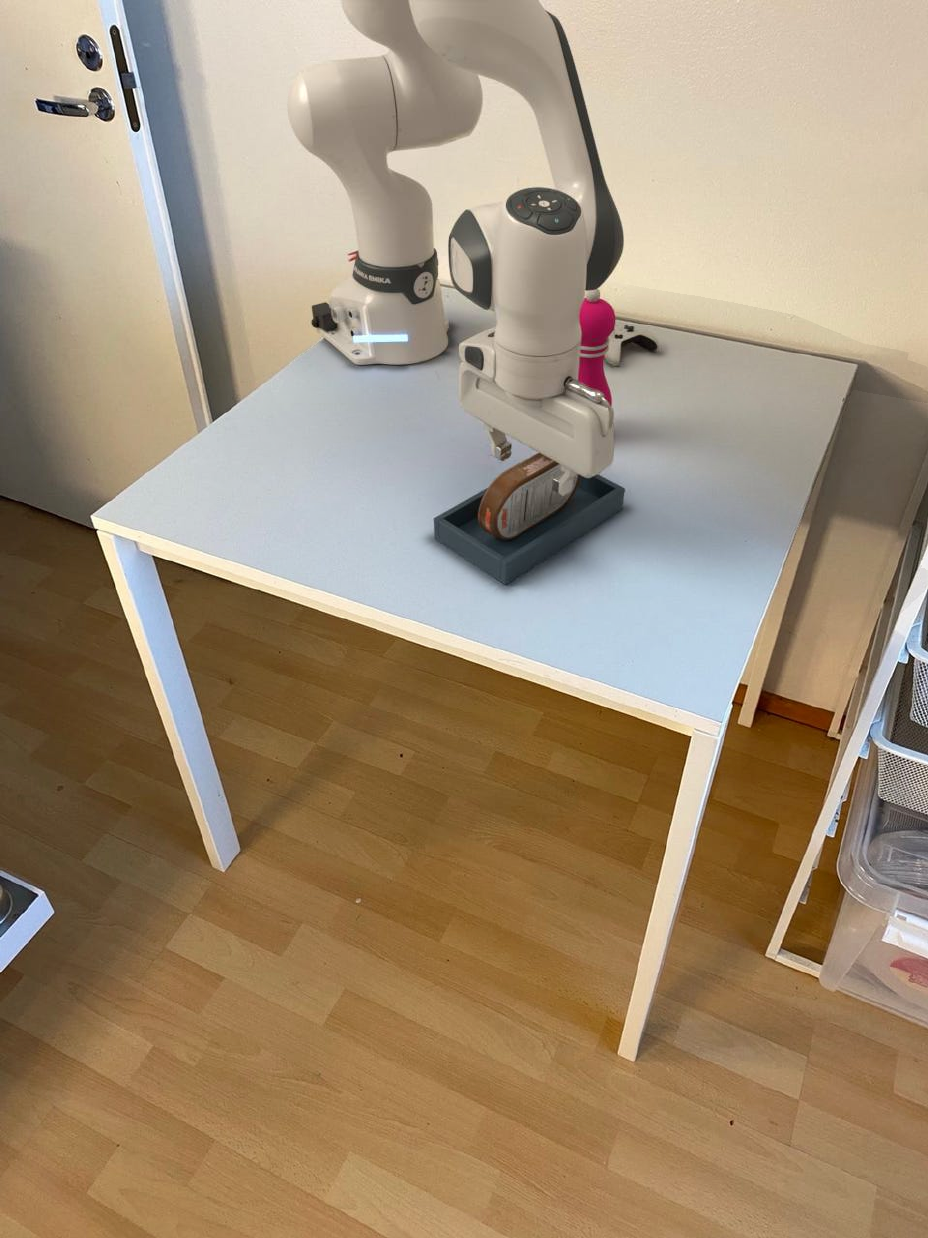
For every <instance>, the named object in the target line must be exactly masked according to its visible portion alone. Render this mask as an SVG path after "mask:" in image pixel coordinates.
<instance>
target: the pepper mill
mask: <svg viewBox="0 0 928 1238" xmlns="http://www.w3.org/2000/svg"><path fill="white" fill-rule="evenodd" d="M615 313H616V312H615V310H614V308H613V306H612V305H611V304H610V303H609V302H608V301H606V299H603V298H601V291H600V289H599V288H598V289H595V290H588V291H585V298H584V301H583V304H582V306H581V309H580V313H579V322H580V326H581V332H582V336H581V349H580V361H579V372H578V380H577V381H579V382H581V383H583V384H585V385H586V386H588V387H590V388H592V389H596V390H598V391H600V392H602V393H603V394H604V396H605V399H606V400H607V401H608V402H609V404H610V406H611V407H612V408H613V399H612V392H611V389H610V386H609V384H608V383H609V382H608V381H607V378H606V375H605V369H604V362H605V361H604V360H605V358H604V355H605V354H606V353H607V352H608V350H609V346H608V344H609V342H610V340H609V338H608V336H609V335H610V334H611V333H612V332H613V330H614V328H616V319H617V318H616V314H615Z"/></svg>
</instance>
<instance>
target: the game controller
mask: <svg viewBox="0 0 928 1238" xmlns="http://www.w3.org/2000/svg"><path fill="white" fill-rule="evenodd" d="M608 338H609V340H610V342H609V344H608V346H609V350H608V352H607V353H606V354H605V355H604V360H605V361H606V362H607V363H608V364H610V365H611V366H613V367H618V366H620V365H621V361H622V360H621V359H622V347H624V346H626V345H629V344H635V345H637V346H638V347H640V348H642V349H644V350H645V351H649V352H655V351H657V349H658V348H659V340H658V338H657V337H656V336H655V335H654V334H652V333H651V332H649V331H648V330H645V329H642V328H639V327H636V326H634V325H628V324H621V325H619V326H617V327H616V326H615V328H614V330H613V332H612V333H611V334H610V335H609V336H608Z"/></svg>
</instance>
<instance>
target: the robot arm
mask: <svg viewBox="0 0 928 1238" xmlns="http://www.w3.org/2000/svg"><path fill="white" fill-rule="evenodd" d="M340 3H341V7H342V10H343V12H344V15H345V17H346V19H347V20H348V21H349V23H350V24H351V25H352V27H354V28H355V29H356V31H357V32H359V33H360V34H361V35H363V36H364V37H366V38H367V39H369V40H371V41H373V42H375V43H377V44H380V45H382V46H383V47H385V48H387V49H389V50H388V52H387V53H386V54H381V55H379V56H367V57H357V58H345V59H333V60H329V61H326V62H323V63H319V64H316V65H313V66H311V67H310V66H309V67H307V68H304V69H302V70H300V71H298V72H297V73H296V75H295V76H294V78H293V80H292V83H291V85H290V87H289V91H288V96H287V115H288V120H289V124H290V127H291V129H292V132H293V134H294V135H295V137H296V138H297V140H298V142H299V143H300V144H301V145H302V147H304V149H305V150H306V151H308V152H309V153H310V154H312V155H313V156H315V157H316V158H318V159H319V160H320V161H322V162H324V163H325V165H327V166H328V167H329V169H331V170H332V171H333V173H334V174H335V175H336V176H337V178H338V179H339V180H340V182H341V183H342V186H343V188H344V189H345V191H346V193H347V196H348V198H349V201H350V205H351V209H352V214H353V215H352V216H353V220H354V226H355V227H354V228H355V234H356V242H357V250H355V251H353V252H349V253H347V256H351V257H349V258H348V259H347V260H348V262H352V261H354V264H353V270H352V274H351V275H350V276H349V277H347V278H346V279H345V280H344V281H342V282H341V283H340V284H339V285H337V286H336V287H335V288H333V290H332V291H331V292H330V295H329V299H328V302H326V301H324V302H321V303H317V304H313V305H311V312H312V319H311V322H310V323H311V325H312V326H311V327H313V328H315V330H316V332H317V333H318V334H319V335H320V336H321V337H323V338H324V339H325V340H326V341H328V343H329V344H331V345H332V346H333V347H334V348H335V349H337V350H338V351H339V352H340V353H342V354H343V355H344V356H345V357H346V358H347V359H348V360H350V361H351V362H352V363H353V364H355V365H358V366H365V365H376V364H381V365H411V364H412V365H413V364H417V363H423V362H425V361H428V360H430V359H431V360H432V359H433V358H436V357H437V356H439V355H441V354H442V353H443V352H444V351H445V350H446V349H447V347H448V346H449V337H448V334H447V333H448V332H449V329H450V322H449V320H448V318H445V317H446V316H445V309H444V302H443V295H442V285H441V282H440V279H439V278H438V277H439V258H438V251H437V250H436V248H435V237H434V234H435V233H434V211H433V200H432V198H431V195H430V193H429V191H428V190H427V189H426V188H425V186H423V184H422V183H420V182H418V181H417V180H415V179H413V178H411V177H409V176H407V175H405V174H402V173H399V172H397V171H395V170H393V169H391V168H389V165H388V155H389V154H390V153H393V152H401V151H407V150H419V149H426V148H427V149H428V148H437V147H440V146H443V145H447V144H450V143H453V142H456V141H459V140H461V139H464V138H467V137H470V136H471V135H472V133H473V132H474V130H475V129H476V127H477V125H478V122H479V121H480V118H481V114H482V111H483V101H484V97H483V96H484V95H483V88H482V83H481V79H480V77H479V76H481V77H484V78H487V79H491V80H493V81H496V82H498V83H501V84H503V85H504V86H506V87H508V88H510V89H512V90H514V91H515V92H517V93H518V94H519V95H520V96H521V97H522V98H523V99H524V100H525V101H526V102H527V103H528V105H529V106H530V107H531V110H532V112H533V114H534V117H535V119H536V122H537V123H536V124H537V126H538V130H539V134H540V137H541V140H542V144H543V148H544V152H545V155H546V159H547V163H548V166H549V170H550V174H551V176H552V177H551V178H552V181H553V184H554V188H551V187H541V186H533V187H526V188H523V189H519V190H517V191H515V192H513V193H511V194H510V195H508V196H507V197H506V198H505V199H504V201H498V202H497V201H496V202H490V203H486V204H480V205H476V206H474V207H473V206H472V207H471V208H468V209H465V210H464V211H463V212H462V213H461V214H460V215H459V216H458V217H457V219H456V221H455V222H454V224H453V226H452V228H451V230H450V233H449V236H448V242H447V243H448V244H447V248H448V249H447V251H448V253H447V254H448V268H449V274H450V275H449V276H450V280H451V283H452V285H453V288H455V290H457V292H458V293H460V294H461V295H462V296H464V297H465V298H466V299H468V300H469V301H470V302H472V303H473V304H475V305H476V306H478V307H479V308H481V309H482V310H485V311H488V310H490V311H491V312H493V313H494V315H495V318H496V325H495V326H493V327H490V328H489V329H485V330H483V331H481V332H479V333H476V334H475V335H472V336H470V337H468V338H467V339H464V340H463V341H462V342H460V343H459V344H458V345H459V346H458V355H459V358H460V360H461V363H460V364H459V368H458V379H457V380H458V383H457V384H458V400H459V403H460V406H461V408H462V409H463V411H464V412H465V413H466V414H468V415H469V416H471V417H473V418H475V419H477V420H479V421H481V422H482V423H484V431H485V433H486V435H487V437H488V440H489V442H490V444H491V456H492V457H493V458H495V459H497V460H499V461H501V462H504V461H506V460H507V459H509V458H510V457H511V456H512V448H513V447H512V446H513V445H512V443H511V442H510V441H508V440H507V436H508V437H510V438H512V439H514V440H516V441H517V442H519V443H521V444H522V445H525V446H527V447H528V448H530V449H532V450H533V451H535V452H537V453H541V454H543V455H545V456H547V457H548V458H550V459H552V460H554V461H556V462H557V463H559V464H561V471H563V473H561V474H559V476H556V477H555V478H553V482H552V484H553V486H552V490H553V491H555V492H557V493H558V494H560V495H562V496H564V495H566V494H567V493H569V492H570V491H571V490H572V485H573V478H574V477H575V476H576V475H577V474H579V475H581V476H583V477H585V478H591V477H593V476H595V475H597V474H598V475H600V474H601V473H602V472H604V471H605V470H606V469H608V468H609V467H610V466H611V465H612V464H613V461H614V456H615V425H614V424H615V423H614V419H615V417H614V416H615V411H614V408H613V406H612V407H611V406H610V404H609V402H608V401H607V400H606V399H605V396H604V394H603V393H602V392H600V391H598V390H596V389H592V388H590V387H588V386H586V385H585V384H583V383H581V382H579V381H577V380H578V372H579V361H580V349H581V336H582V332H581V326H580V322H579V313H580V309H581V306H582V304H583V301H584V298H586V291H588V290H595V289H599V288H601V287H602V285H604V283H606V281H607V280H608V279H609V278H610V276H611V275H612V274H613V272H614V270H615V269H616V267H617V265H618V263H619V261H620V260H621V257H622V255H623V253H624V252H623V251H624V245H625V236H624V235H625V234H624V228H623V224H622V221H621V216H620V214H619V210H618V208H617V206H616V203H615V201H614V199H613V196H612V194H611V192H610V188H609V187H608V184H607V181H606V177H605V175H604V170H603V167H602V163H601V160H600V155H599V152H598V151H599V150H598V148H597V144H596V139H595V136H594V132H593V127H592V124H591V120H590V116H589V111H588V108H587V105H586V100H585V96H584V92H583V89H582V86H581V85H582V84H581V81H580V77H579V74H578V73H579V72H578V70H577V67H576V63H575V59H574V56H573V52H572V50H571V46H570V43H569V40H568V37H567V35H566V32H565V29H564V28H563V27H564V26H563V25H562V23H561V22H560V20H559V19H558V17H557V16H556V15H554V14H552V13H551V12H549V11H548V10H546V9H545V8H544V6H543V5H542V4H541V2H540V0H340ZM564 472H565V473H564Z"/></svg>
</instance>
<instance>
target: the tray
mask: <svg viewBox="0 0 928 1238" xmlns="http://www.w3.org/2000/svg"><path fill="white" fill-rule="evenodd" d="M488 488H489V486H488V487H486V488H485V489H483V490H481V491H479V492H478V493H476V494H474V495H472V496H471V497H468V498H467V499H465V500H463V501H462V502H460V503H458V504H456V505H455V506H453V507H451V508H449V509H448V510H445V511H444V512H442V513H440V514H438V515H436V516H435V517H433V531H434V533H433V535H434V540H436V541H437V542H439V543H440V544H442V545H443V546H445V547H446V548H448V549H450V550H451V551H452V552H454V553H455V554H457V555H459V556H460V557H462V558H463V559H465V560H466V561H467V562H469V563H470V564H472V565H474V567H477V569H478V568H479V569H480V570H482V571H483V572H485V574H487V575H489V576H490V577H492V578H493V579H495V580H496V581H498V582H500V583H501V584H503V585H505V586H506V585H508V584H509V583H511V582H512V581H514V580H515V579H517V578H519V577H520V576H521V575H523V574H525V573H526V572H528V571H530V570H531V569H532V568H534V567H535V566H537V565H538V564H540V563H541V562H543V561H545V560H546V559H548V558H549V557H552V556H553V555H554V554H555V553H557V552H559V551H560V550H562V549H563V548H565V547H566V546H568V545H570V544H571V543H572V542H574V541H575V540H577V539H579V538H580V537H582V536H583V535H585V534H586V533H588V532H590V531H591V530H592V529H594V528H596V527H597V526H598V525H600V524H601V523H603V522H605V521H606V520H608V519H610V518H611V517H613V516H614V515H615V514H617V513H618V512H620V511H622V510H623V509H624V508H623V507H624V500H625V493H626V492H625V491H626V488H625V487H623V486H621V485H619V484H618V483H616V482H613V481H612V480H609V479H608V478H607V477H604V476H602V475H600V474H597V475H595V476H593V477H591V478H585V477H583V476H581V475H580V479H579V484H578V487H577V489H576V491H575V493H574V495H573V496H572V498H571V499H570V501H569V502H568V503H567V504H566V505H565V506H564V507H563V508H562V509H561V510H560V511H558V512H557V513H555V514H554V515H552V516H550V517H549V518H547V519H545V520H544V521H542V522H540V523H539V524H537V525H536V526H534V527H532V528H531V529H529V530H527V531H526V532H524V533H522V534H521V535H519V536H517V537H516V538H514V539H511V540H506V541H504V540H500V539H498V538H496V537H494V536H493V535H491V534H490V533H488V532H486V531H484V530H483V529H482V528H481V527H480V525H479V521H478V511H479V507H480V504H481V501H482V498H483V496H484V494H485V492H486V491H487V489H488Z"/></svg>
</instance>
